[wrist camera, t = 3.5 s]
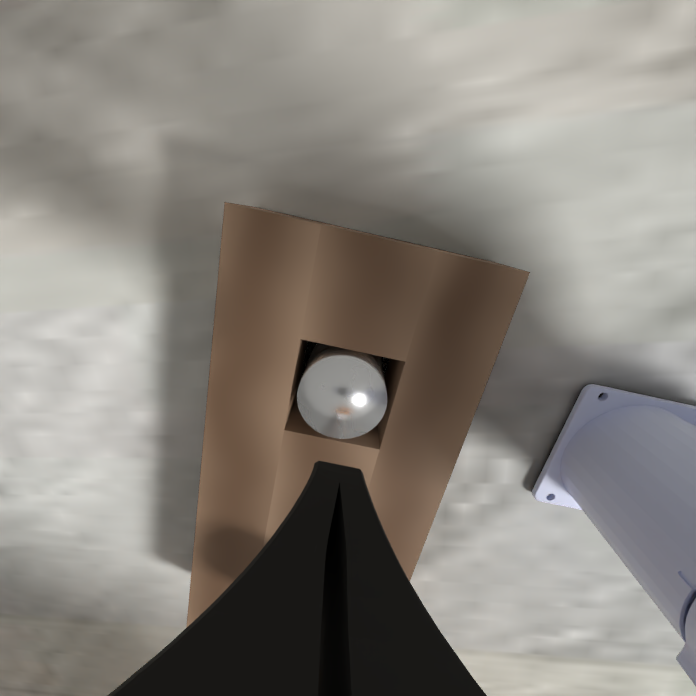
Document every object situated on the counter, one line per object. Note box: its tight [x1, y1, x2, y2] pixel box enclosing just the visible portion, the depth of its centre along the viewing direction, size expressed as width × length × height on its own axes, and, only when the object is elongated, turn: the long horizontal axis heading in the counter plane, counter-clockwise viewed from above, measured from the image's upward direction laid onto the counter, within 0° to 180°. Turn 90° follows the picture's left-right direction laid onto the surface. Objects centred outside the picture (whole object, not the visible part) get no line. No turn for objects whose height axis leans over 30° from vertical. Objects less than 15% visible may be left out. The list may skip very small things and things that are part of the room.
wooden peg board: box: [187, 202, 530, 627], centre depth 20 cm, size 12×26×4 cm, turn 168°
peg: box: [297, 343, 387, 439], centre depth 17 cm, size 4×4×4 cm
